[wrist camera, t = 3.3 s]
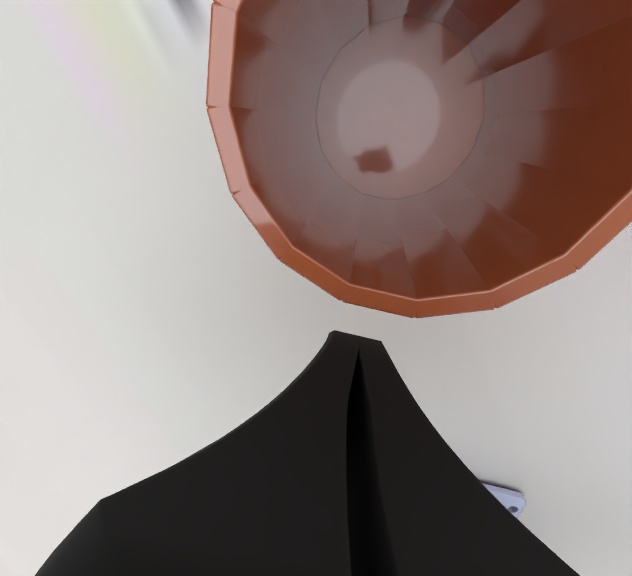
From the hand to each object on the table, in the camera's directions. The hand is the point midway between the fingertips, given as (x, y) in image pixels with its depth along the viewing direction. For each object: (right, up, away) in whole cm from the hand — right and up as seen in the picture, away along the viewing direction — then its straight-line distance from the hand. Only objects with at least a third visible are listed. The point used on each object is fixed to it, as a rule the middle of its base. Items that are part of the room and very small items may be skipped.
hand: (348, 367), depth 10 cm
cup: (+2, +9, +5) cm, 10 cm away
